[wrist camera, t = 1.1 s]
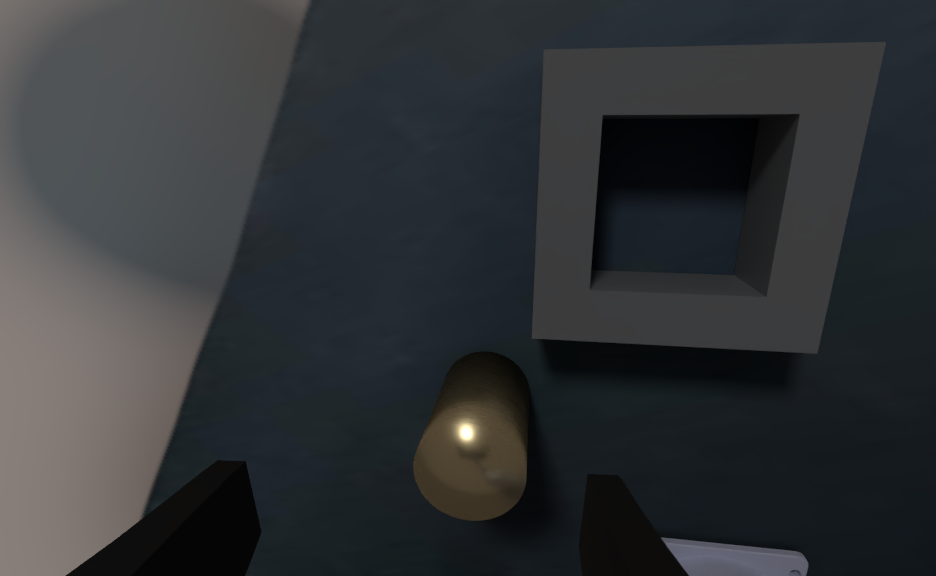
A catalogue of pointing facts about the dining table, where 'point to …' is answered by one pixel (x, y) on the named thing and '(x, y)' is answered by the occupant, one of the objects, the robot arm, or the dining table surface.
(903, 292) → the dining table surface
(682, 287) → the coupling block
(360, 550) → the dining table surface
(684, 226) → the dining table surface
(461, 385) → the brass cylinder
